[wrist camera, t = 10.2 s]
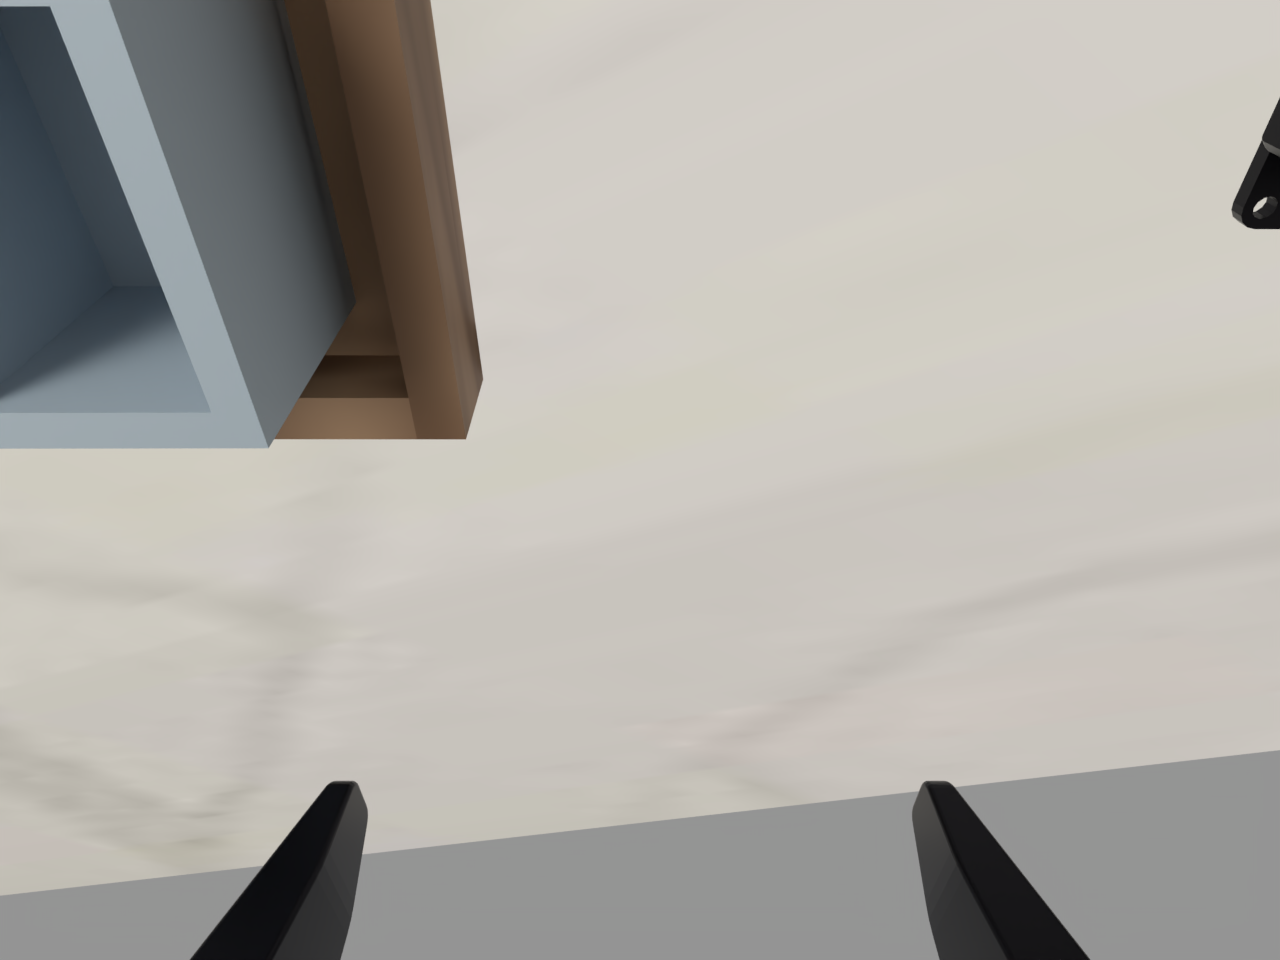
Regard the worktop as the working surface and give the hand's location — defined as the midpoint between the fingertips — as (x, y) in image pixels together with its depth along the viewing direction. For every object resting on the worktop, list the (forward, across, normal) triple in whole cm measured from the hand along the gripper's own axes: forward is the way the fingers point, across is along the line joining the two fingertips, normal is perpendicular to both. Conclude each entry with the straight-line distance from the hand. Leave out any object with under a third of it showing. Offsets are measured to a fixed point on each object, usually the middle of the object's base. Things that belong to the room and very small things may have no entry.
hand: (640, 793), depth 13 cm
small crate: (+11, +10, -7) cm, 17 cm away
